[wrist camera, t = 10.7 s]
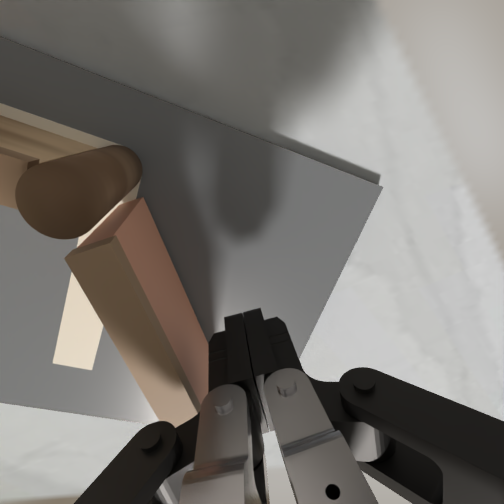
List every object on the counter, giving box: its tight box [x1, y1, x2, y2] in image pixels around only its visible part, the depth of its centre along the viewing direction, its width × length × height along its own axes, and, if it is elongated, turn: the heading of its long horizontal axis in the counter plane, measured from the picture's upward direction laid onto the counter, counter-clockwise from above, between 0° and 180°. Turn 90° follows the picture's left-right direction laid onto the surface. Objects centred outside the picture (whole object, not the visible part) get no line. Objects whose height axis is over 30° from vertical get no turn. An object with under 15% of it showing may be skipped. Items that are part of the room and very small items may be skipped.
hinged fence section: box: [64, 197, 209, 428], centre depth 13 cm, size 9×1×6 cm, turn 17°
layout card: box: [0, 37, 383, 424], centre depth 15 cm, size 21×16×1 cm
